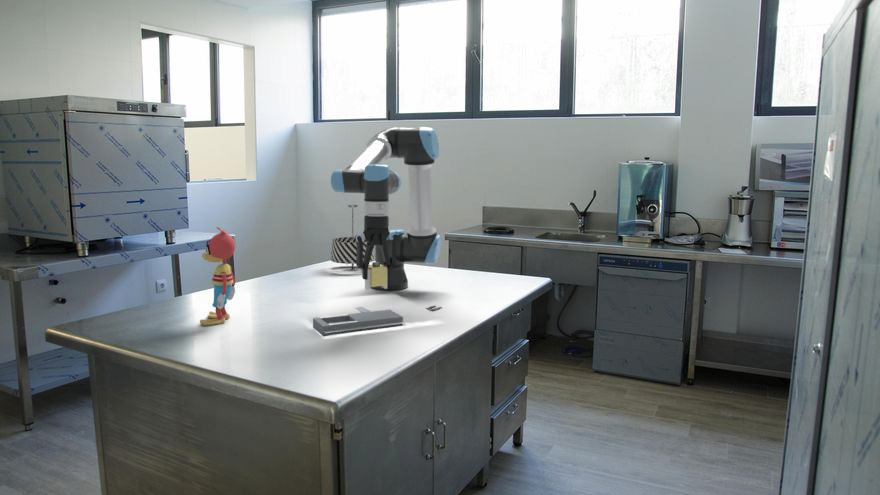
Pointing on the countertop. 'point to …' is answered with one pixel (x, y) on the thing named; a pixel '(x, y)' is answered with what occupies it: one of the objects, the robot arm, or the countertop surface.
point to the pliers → (433, 309)
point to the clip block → (378, 274)
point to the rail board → (356, 321)
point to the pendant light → (347, 248)
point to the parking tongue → (362, 309)
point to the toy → (220, 276)
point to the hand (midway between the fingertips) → (376, 288)
